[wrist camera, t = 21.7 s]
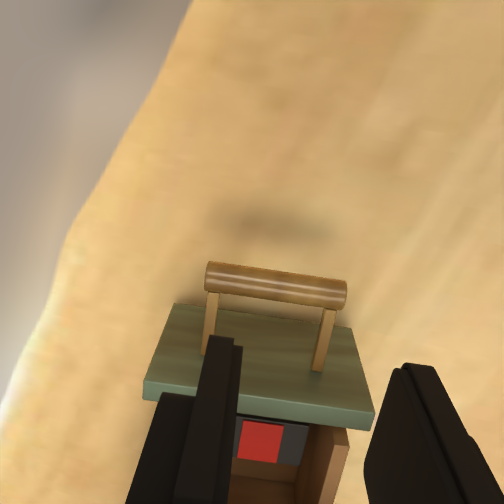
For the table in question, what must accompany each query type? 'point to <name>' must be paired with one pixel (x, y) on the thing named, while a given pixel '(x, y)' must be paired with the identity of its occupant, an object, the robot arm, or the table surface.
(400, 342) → the table surface
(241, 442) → the black and red block
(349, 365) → the drawer
